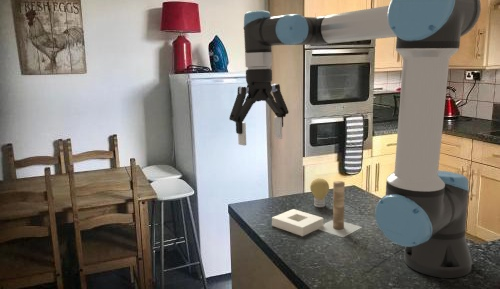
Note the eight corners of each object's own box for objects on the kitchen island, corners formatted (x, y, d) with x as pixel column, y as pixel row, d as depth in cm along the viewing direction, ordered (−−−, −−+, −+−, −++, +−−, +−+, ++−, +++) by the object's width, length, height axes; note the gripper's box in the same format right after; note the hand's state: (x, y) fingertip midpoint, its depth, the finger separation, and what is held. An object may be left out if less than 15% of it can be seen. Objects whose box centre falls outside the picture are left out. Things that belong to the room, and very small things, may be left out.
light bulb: (329, 210, 142) (329, 181, 140) (310, 209, 143) (310, 181, 141) (328, 203, 148) (328, 176, 146) (310, 203, 149) (310, 176, 147)
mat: (362, 228, 126) (362, 227, 126) (343, 238, 119) (343, 237, 119) (334, 220, 133) (334, 218, 133) (314, 229, 126) (314, 228, 126)
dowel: (346, 227, 126) (346, 182, 123) (339, 230, 124) (340, 184, 121) (337, 224, 128) (337, 180, 126) (330, 227, 126) (331, 182, 124)
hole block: (323, 227, 128) (323, 217, 127) (302, 237, 121) (302, 227, 120) (293, 217, 136) (293, 208, 136) (272, 226, 130) (271, 217, 129)
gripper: (282, 66, 130) (283, 134, 134) (214, 70, 115) (218, 145, 119) (299, 66, 124) (300, 137, 128) (230, 69, 110) (233, 149, 114)
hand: (260, 141), depth 124 cm, fingers open, 13 cm apart
